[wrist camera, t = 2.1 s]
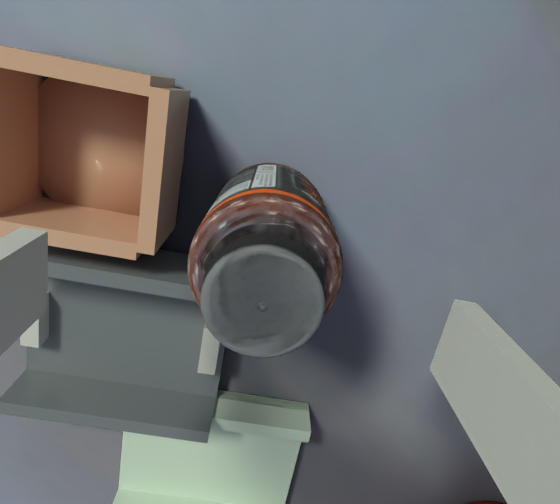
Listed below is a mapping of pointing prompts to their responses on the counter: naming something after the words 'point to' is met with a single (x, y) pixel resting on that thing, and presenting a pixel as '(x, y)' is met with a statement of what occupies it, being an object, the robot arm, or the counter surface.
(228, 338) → the supplement bottle
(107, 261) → the checker cradle
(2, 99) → the open cardboard box
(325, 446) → the counter surface
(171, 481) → the trough
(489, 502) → the canned food
